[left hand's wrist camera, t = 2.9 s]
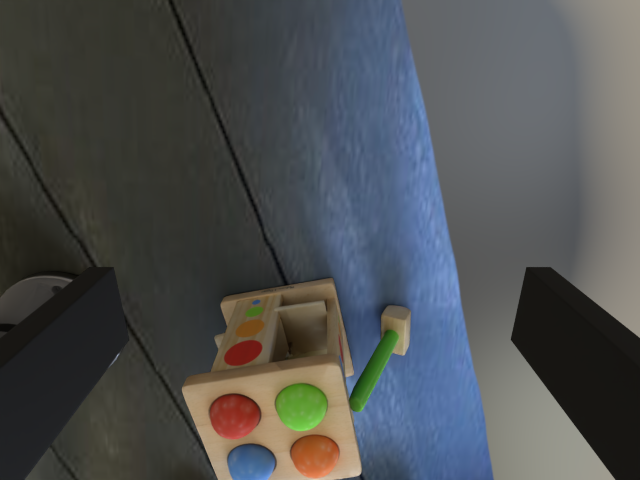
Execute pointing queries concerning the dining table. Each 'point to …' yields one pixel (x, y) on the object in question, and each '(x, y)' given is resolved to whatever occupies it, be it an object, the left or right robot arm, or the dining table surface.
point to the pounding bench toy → (287, 385)
